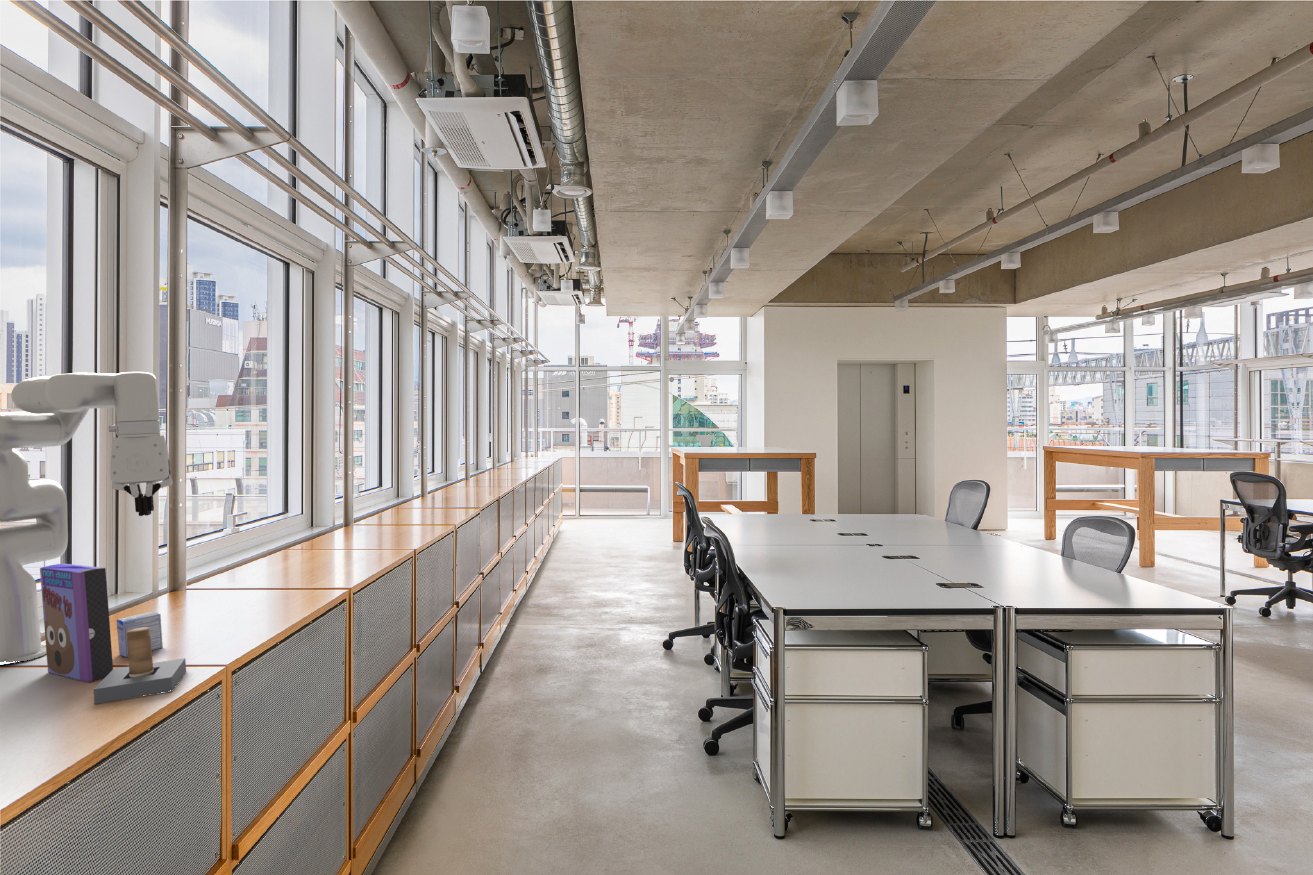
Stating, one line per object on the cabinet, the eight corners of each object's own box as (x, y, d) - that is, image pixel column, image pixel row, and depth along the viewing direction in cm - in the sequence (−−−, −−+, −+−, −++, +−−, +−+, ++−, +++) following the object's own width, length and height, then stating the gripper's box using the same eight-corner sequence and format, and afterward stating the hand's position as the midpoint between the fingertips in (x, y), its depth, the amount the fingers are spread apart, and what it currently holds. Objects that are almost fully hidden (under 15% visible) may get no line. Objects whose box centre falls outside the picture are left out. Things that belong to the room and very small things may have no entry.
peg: (133, 685, 152) (129, 629, 152) (156, 682, 154) (152, 625, 153) (128, 692, 149) (123, 634, 148) (151, 688, 150) (147, 631, 150)
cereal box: (48, 672, 164) (39, 567, 163) (73, 665, 168) (65, 562, 167) (88, 683, 155) (79, 571, 155) (113, 675, 160) (105, 566, 159)
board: (114, 682, 155) (113, 668, 155) (186, 671, 160) (185, 658, 160) (94, 704, 143) (93, 689, 143) (172, 691, 148) (171, 677, 148)
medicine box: (156, 645, 181) (153, 610, 181) (163, 648, 178) (160, 613, 178) (118, 654, 175) (115, 619, 174) (125, 657, 172) (122, 621, 172)
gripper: (90, 432, 150) (97, 520, 150) (175, 428, 155) (181, 513, 156) (102, 431, 157) (108, 516, 157) (183, 428, 162) (189, 509, 163)
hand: (145, 514), depth 157 cm, fingers closed
